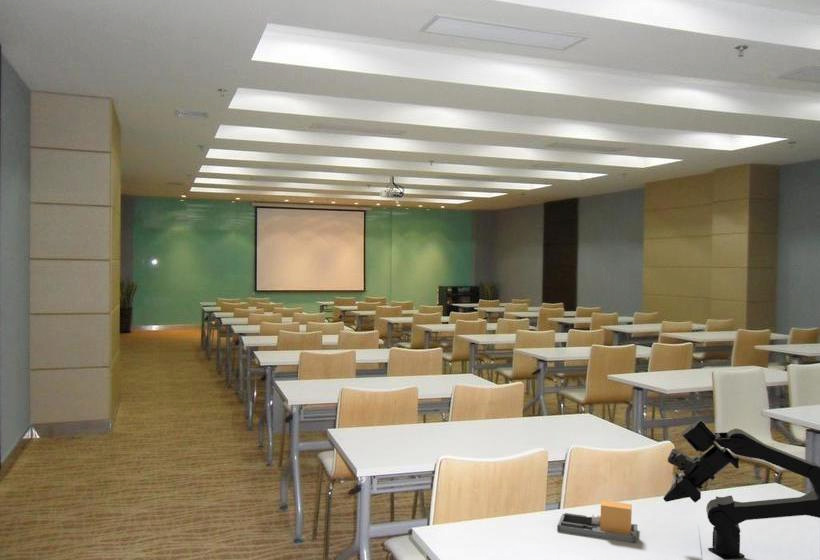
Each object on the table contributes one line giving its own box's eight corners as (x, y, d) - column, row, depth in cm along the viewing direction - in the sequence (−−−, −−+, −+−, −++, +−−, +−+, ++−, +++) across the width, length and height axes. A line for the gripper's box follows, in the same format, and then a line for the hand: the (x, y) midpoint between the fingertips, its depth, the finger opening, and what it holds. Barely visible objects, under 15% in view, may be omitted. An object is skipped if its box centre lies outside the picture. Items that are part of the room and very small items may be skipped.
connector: (631, 532, 187) (631, 504, 187) (630, 538, 183) (630, 509, 183) (592, 526, 191) (593, 499, 191) (591, 532, 186) (591, 504, 186)
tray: (637, 533, 189) (637, 522, 189) (635, 546, 180) (635, 534, 180) (562, 522, 196) (562, 511, 196) (557, 534, 187) (557, 523, 187)
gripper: (685, 433, 188) (644, 467, 192) (687, 449, 171) (641, 486, 175) (715, 464, 185) (672, 498, 189) (720, 483, 168) (673, 520, 172)
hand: (664, 500), depth 182 cm, fingers closed
